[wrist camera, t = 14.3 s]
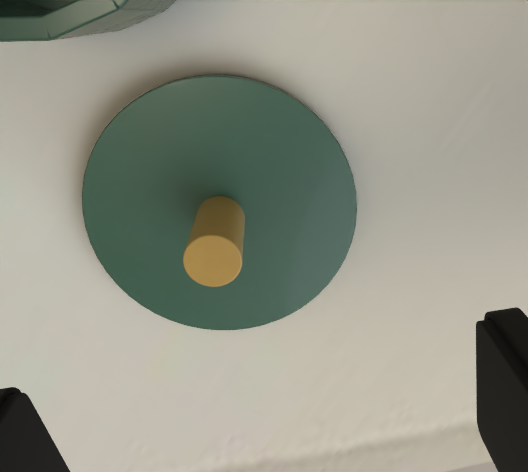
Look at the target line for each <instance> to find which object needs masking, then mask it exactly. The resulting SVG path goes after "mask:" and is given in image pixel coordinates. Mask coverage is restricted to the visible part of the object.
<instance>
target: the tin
mask: <svg viewBox="0 0 528 472" xmlns="http://www.w3.org/2000/svg"><path fill="white" fill-rule="evenodd" d="M175 1H176V0H0V42H12V41H50V40H57V39H64V38H71V37H78V36H85V35H92V34H99V33H107V32H114V31H119V30H122V29H125V28H127V27H129V26H131V25H134V24H137V23H140V22H142V21H144V20H146V19H148V18H150V17H152V16H155V15H156V14H159V13H161V12H163V11H165V9H168V7H169V6H170V5H171V4H173V3H174V2H175Z"/></svg>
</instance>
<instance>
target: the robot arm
mask: <svg viewBox="0 0 528 472" xmlns="http://www.w3.org/2000/svg"><path fill="white" fill-rule="evenodd" d="M476 378H477V424H478V428H479V432H480V435H481V437H482V440H483V442H484V444H485V446H486V448H487V450H488V452H489V454H490V456H491V458H492V460H493V462H494V464H495V466H496V468H497V470H498V472H528V317H527V316H526V315H525V314H524V313H523V311H521V310H520V309H519V308H510V309H504V310H497V311H491V312H487V313H486V314H485V318H484V320H483V321H478V322H477V324H476ZM0 472H70V471H69V469H68V467H67V465H66V463H65V462H64V460H63V458H62V456H61V454H60V453H59V451H58V449H57V447H56V445H55V444H54V442H53V440H52V438H51V436H50V434H49V433H48V431H47V429H46V427H45V425H44V424H43V422H42V420H41V418H40V416H39V415H38V413H37V411H36V409H35V407H34V406H33V404H32V402H31V400H30V398H29V397H28V396H27V394H25V393H21V391H20V390H19V389H17V388H15V387H11V388H5V389H0Z"/></svg>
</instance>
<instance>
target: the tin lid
mask: <svg viewBox="0 0 528 472" xmlns="http://www.w3.org/2000/svg"><path fill="white" fill-rule="evenodd" d="M82 206H83V215H84V221H85V227H86V230H87V233H88V236H89V239H90V243H91V245H92V247H93V249H94V251H95V253H96V255H97V258H98V259H99V261H100V262H101V264H102V265H103V267H104V269H105V270H106V272H107V273H108V274H109V275H110V277H111V278H112V279H113V280H114V281H115V283H116V284H117V285H118V286H119V287H120V288H121V289H122V290H123V291H124V292H126V293H127V294H128V295H129V296H130V297H131V298H133V299H134V300H135V301H137V302H138V303H139V304H141V305H142V306H144V307H145V308H147V309H149V310H150V311H152V312H154V313H156V314H158V315H160V316H162V317H164V318H167V319H169V320H171V321H174V322H178V323H181V324H184V325H187V326H192V327H197V328H202V329H212V330H237V329H246V328H252V327H256V326H261V325H265V324H268V323H270V322H273V321H276V320H279V319H281V318H283V317H285V316H287V315H289V314H291V313H293V312H295V311H297V310H298V309H300V308H301V307H303V306H304V305H306V304H307V303H309V302H310V301H311V300H312V299H313V298H315V297H316V296H317V295H318V294H319V293H320V292H321V291H322V290H323V289H324V288H325V287H326V286H327V285H328V284H329V283H330V281H331V280H332V278H333V277H334V276H335V274H336V273H337V272H338V270H339V268H340V267H341V265H342V263H343V261H344V259H345V258H346V255H347V253H348V250H349V248H350V245H351V242H352V238H353V234H354V230H355V225H356V214H357V202H356V190H355V185H354V180H353V175H352V172H351V170H350V167H349V164H348V161H347V159H346V157H345V155H344V153H343V151H342V149H341V147H340V145H339V143H338V141H337V140H336V139H335V137H334V136H333V134H332V133H331V132H330V130H329V129H328V127H327V126H326V125H325V124H324V123H323V122H322V121H321V120H320V119H319V118H318V116H317V115H316V114H315V113H314V112H312V111H311V110H310V109H309V108H307V107H306V106H305V105H304V104H302V103H301V102H300V101H299V100H297V99H295V98H294V97H292V96H290V95H289V94H287V93H285V92H284V91H282V90H279V89H277V88H275V87H273V86H270V85H268V84H266V83H263V82H259V81H255V80H252V79H248V78H244V77H237V76H230V75H201V76H194V77H187V78H183V79H179V80H176V81H172V82H169V83H166V84H164V85H161V86H159V87H157V88H155V89H152V90H150V91H148V92H147V93H145V94H144V95H142V96H140V97H139V98H137V99H136V100H134V101H133V102H131V103H130V104H129V105H128V106H127V107H125V108H124V109H123V110H122V111H121V112H120V113H118V114H117V115H116V116H115V118H114V119H113V120H112V121H111V122H110V123H109V125H108V126H107V127H106V128H105V130H104V131H103V133H102V134H101V136H100V137H99V139H98V141H97V142H96V144H95V146H94V148H93V151H92V153H91V155H90V158H89V160H88V164H87V167H86V171H85V175H84V182H83V190H82Z"/></svg>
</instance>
